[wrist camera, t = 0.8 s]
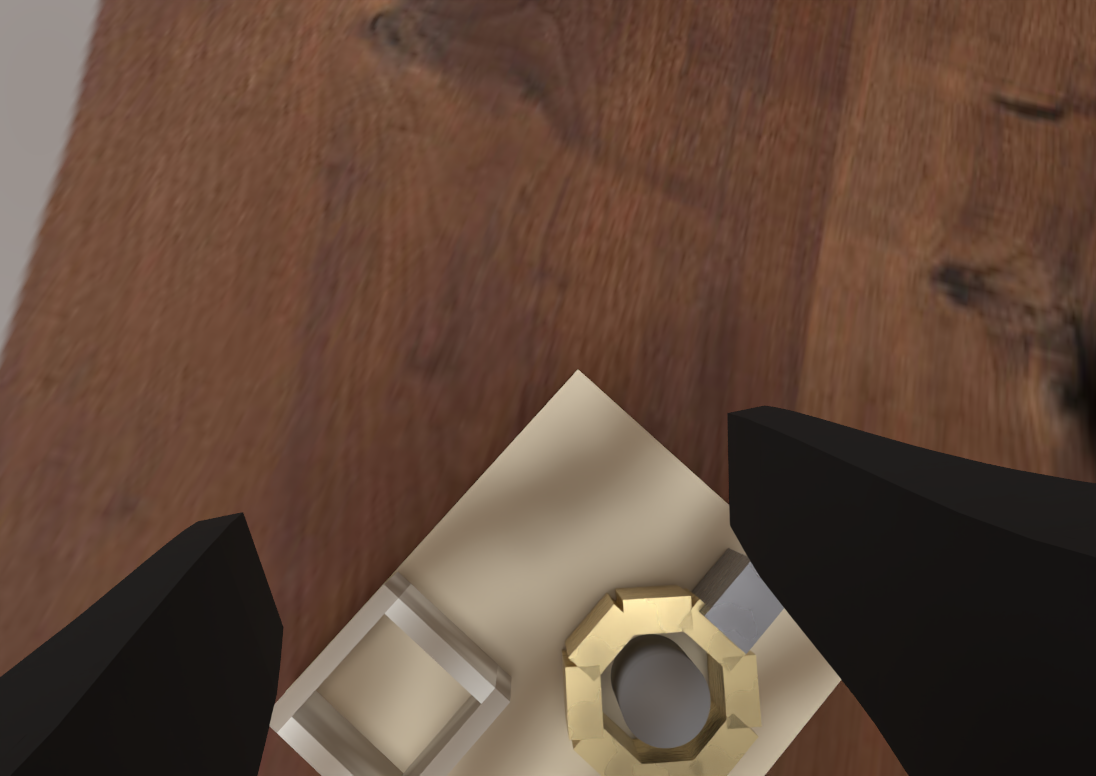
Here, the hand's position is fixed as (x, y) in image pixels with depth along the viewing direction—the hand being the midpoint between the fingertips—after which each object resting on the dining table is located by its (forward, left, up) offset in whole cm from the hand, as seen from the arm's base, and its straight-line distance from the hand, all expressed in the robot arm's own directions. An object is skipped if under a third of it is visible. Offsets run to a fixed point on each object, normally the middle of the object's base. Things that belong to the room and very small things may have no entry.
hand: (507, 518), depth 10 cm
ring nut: (-10, +1, -20) cm, 23 cm away
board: (-8, +4, -22) cm, 23 cm away
